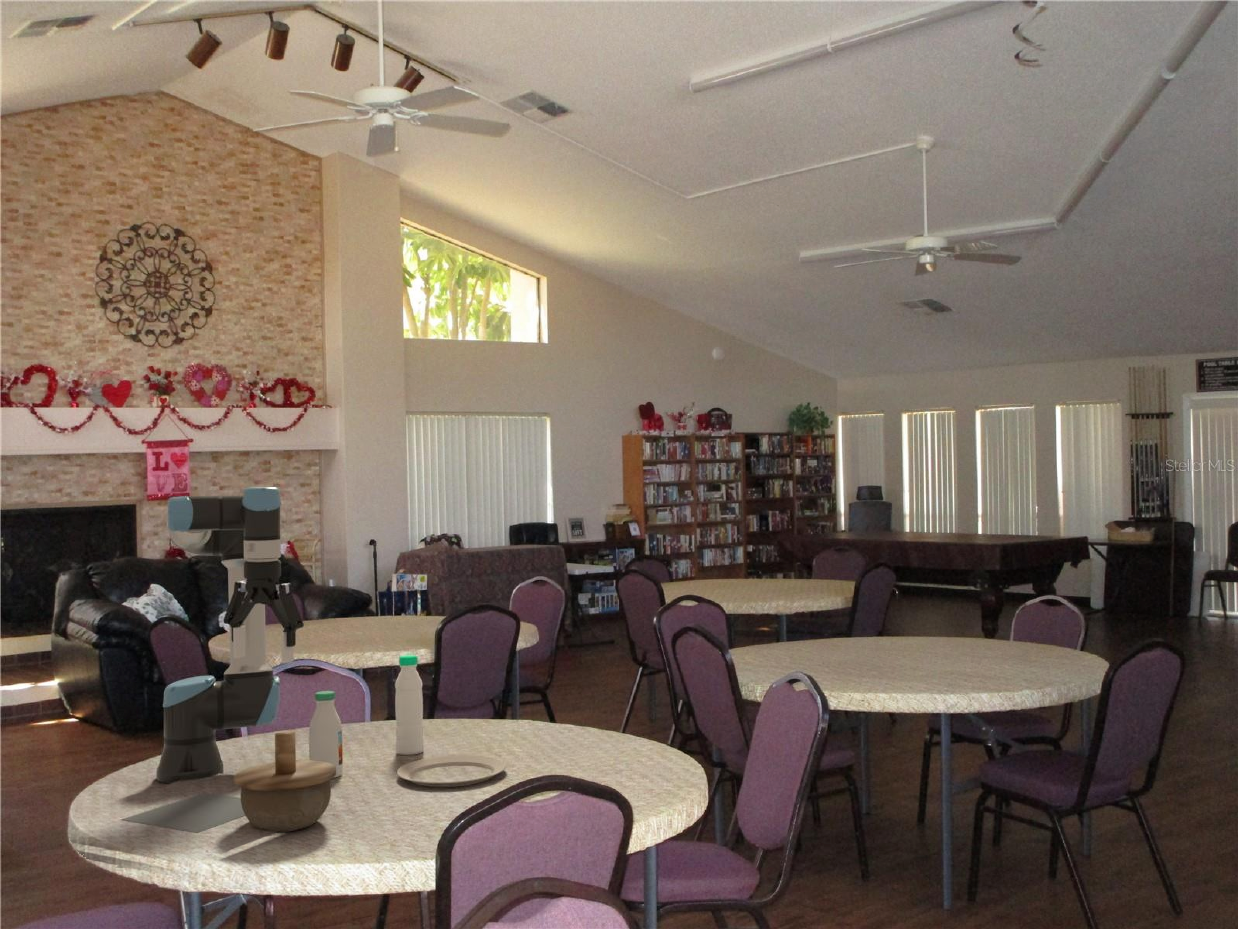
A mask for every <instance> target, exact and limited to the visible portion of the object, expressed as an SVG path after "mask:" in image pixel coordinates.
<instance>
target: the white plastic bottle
mask: <svg viewBox="0 0 1238 929" xmlns="http://www.w3.org/2000/svg"><path fill="white" fill-rule="evenodd" d="M418 662H419V661H418V656H417V655H414V654H405V655H401V656H400V657H399V659H398V665H399V667H400V672H399V673H398V675H397V678H396V681H395V682H394V689H395V698H394V701H395V703H394V705H395V708H394V709H395V723H396V726H395V737H396V741H395V751H396V753H397V754H398V755H400V756H413V755H417V754H421V753H422V752H424V749H425V748H424V747H425V746H424V737H423V736H424V726H423V719H424V718H423V717H424V704H423V703H424V698H423V681H422V678H421V677H420V675H419V674H420V673H419V672H418V671H417V666H418Z"/></svg>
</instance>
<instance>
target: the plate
mask: <svg viewBox="0 0 1238 929" xmlns="http://www.w3.org/2000/svg"><path fill="white" fill-rule="evenodd" d="M452 766H453V767H455V766H456V767H457V766H466V767H467V766H469V767H478V768H483V769H486V770H489V771H490V772H491V773H492V774H490V775H488V776H484V777H480V778H475V779H469V780H461V781H459V780H458V781H444V782H437V781H436V782H435V781H433V782H432V781H430V782H429V781H421V780H420V781H419V780H414V779H412V776H413V775H415V774H417V773H419V772H423V771H426V770H430V769H434V768H435V769H436V768H441V767H452ZM505 769H506V763H505V762H504V761H502V760H500V759H498V758H494V757H490V756H483V755H471V754H469V755H468V754H465V755H463V754H462V755H460V754H458V755H441V756H432V757H429V758H423V759H418V760H414V761H411V762H408V763H406V764H404V765H402V766H400V767H399V768H398V769H397V772H396V774H397V776H398V777H399V778H401V779H403V780H406V781H409V782H411V783H413V784H415V785H419V786H422V787H424V786H425V787H431V788H452V787H453V788H454V787H462V786H463V787H464V786H468V785H469V786H470V785H475V784H479V783H481V782H482V783H483V782H485V781H487V780H489V779H491V778H492V777H494V776H496V775H498V774H501V773H502V772H503V771H504V770H505Z"/></svg>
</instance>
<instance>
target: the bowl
mask: <svg viewBox="0 0 1238 929" xmlns="http://www.w3.org/2000/svg"><path fill="white" fill-rule="evenodd" d="M330 780H331V779H330ZM330 780H328V781H325V782H323V783H320V784H316V785H312V786H308V787H302V788H296V789H288V790H274V791H259V790H248V789H243V788H240V798H241V805H242V809H243V812H244V814H245V816H244V817H246V818H247V820H248V821H249V822H250V824H251V825H253V827H255V828H257V829H260V830H264V831H270V832H272V831H273V832H275V833H287V832H293V831H299V830H302V829H304V828H308V827H310V826H312V825H314V823H316V822H317V821H319V819H320V818H321V817H322V816H323V814H324V813H325V812H326V810H327V809H328V807H329V804H330V801H331V795H332V794H331V793H332V785H331V781H330Z"/></svg>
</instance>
